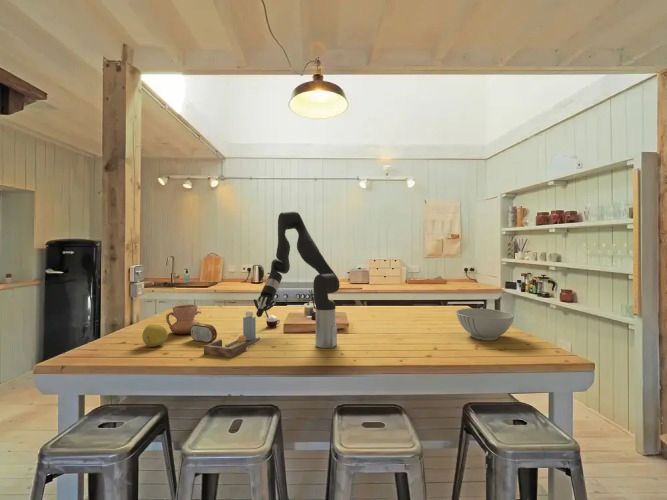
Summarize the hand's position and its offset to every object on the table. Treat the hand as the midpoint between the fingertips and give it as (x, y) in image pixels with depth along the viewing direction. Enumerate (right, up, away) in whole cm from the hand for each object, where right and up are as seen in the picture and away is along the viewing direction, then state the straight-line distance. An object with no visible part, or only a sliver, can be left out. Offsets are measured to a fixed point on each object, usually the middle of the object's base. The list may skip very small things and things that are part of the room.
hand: (258, 316), depth 179 cm
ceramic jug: (-40, -10, +6) cm, 42 cm away
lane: (-4, -10, -13) cm, 17 cm away
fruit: (-44, -11, -17) cm, 48 cm away
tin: (-24, -11, -10) cm, 29 cm away
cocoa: (+3, -10, +20) cm, 22 cm away
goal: (-9, -11, -25) cm, 29 cm away
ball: (-5, -10, -14) cm, 18 cm away
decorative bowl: (+115, -11, -1) cm, 115 cm away
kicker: (-3, -10, -8) cm, 13 cm away
